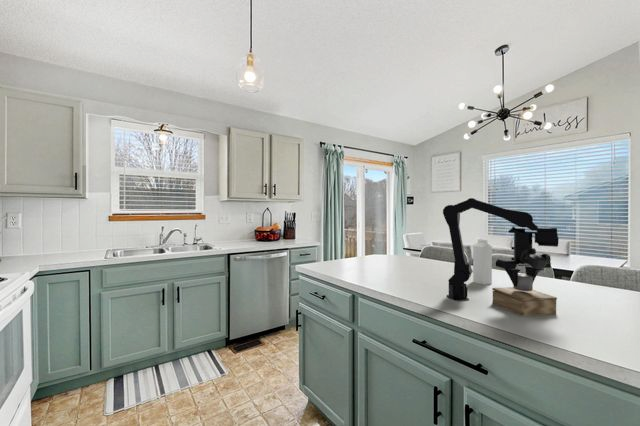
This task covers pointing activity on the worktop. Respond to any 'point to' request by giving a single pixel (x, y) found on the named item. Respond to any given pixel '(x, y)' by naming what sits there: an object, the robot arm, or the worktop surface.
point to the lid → (524, 294)
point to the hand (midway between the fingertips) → (522, 286)
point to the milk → (482, 262)
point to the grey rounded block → (524, 283)
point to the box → (524, 305)
